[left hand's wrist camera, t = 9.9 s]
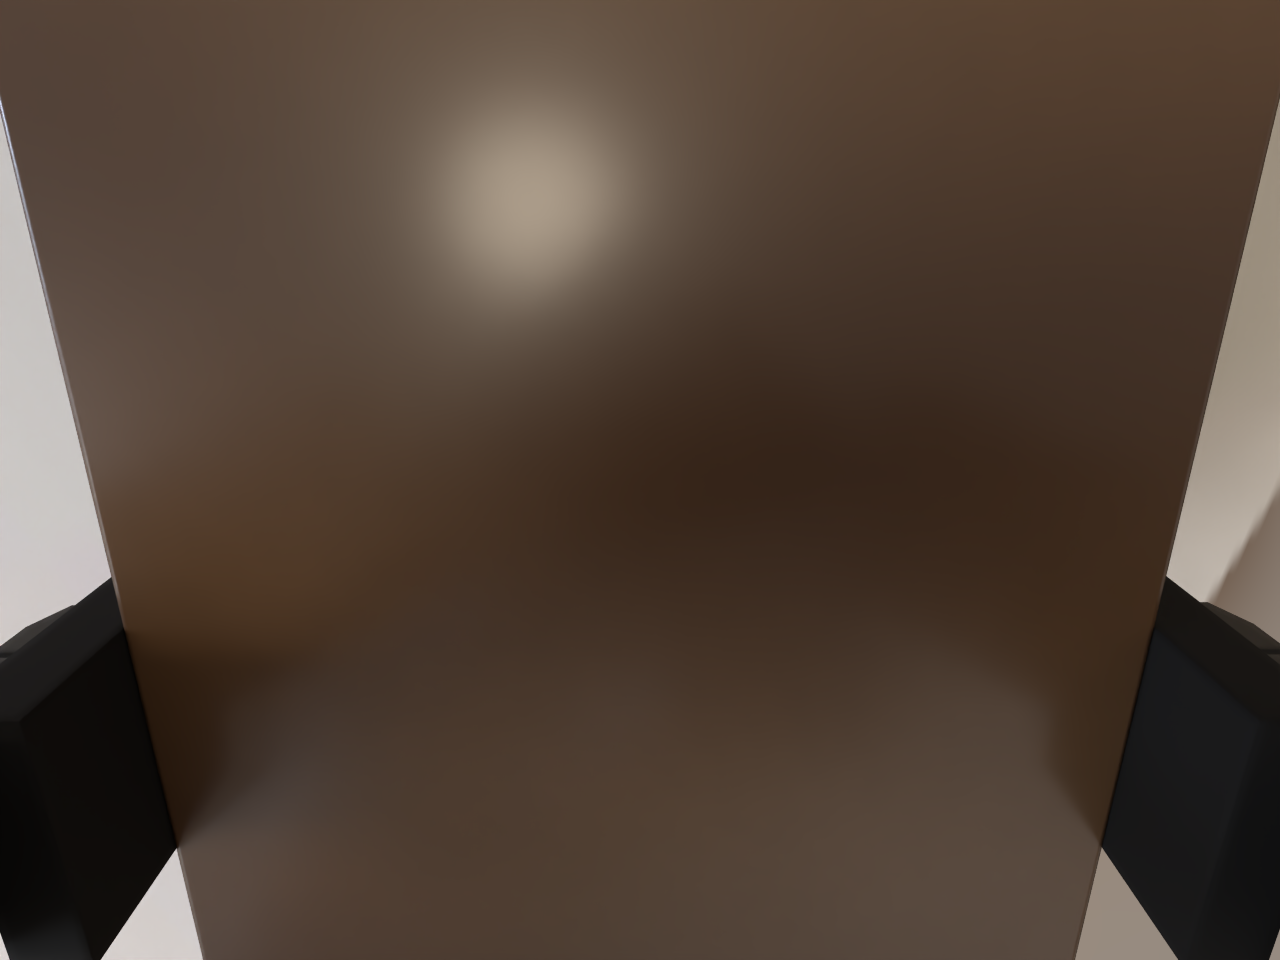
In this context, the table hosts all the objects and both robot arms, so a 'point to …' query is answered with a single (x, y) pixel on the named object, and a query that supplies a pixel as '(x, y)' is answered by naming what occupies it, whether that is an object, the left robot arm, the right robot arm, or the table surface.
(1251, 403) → the table surface
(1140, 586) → the brown rectangular box
